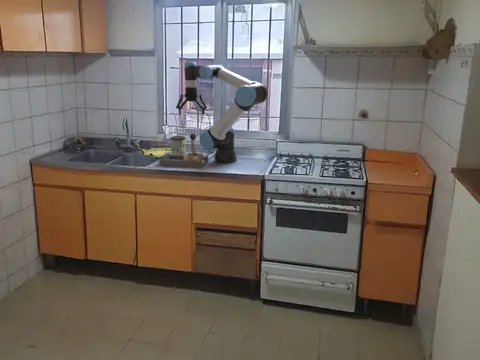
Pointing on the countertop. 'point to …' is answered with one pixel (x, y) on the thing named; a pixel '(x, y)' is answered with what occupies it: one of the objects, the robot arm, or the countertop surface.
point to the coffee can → (178, 145)
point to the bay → (181, 161)
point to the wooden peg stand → (193, 151)
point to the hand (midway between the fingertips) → (191, 119)
